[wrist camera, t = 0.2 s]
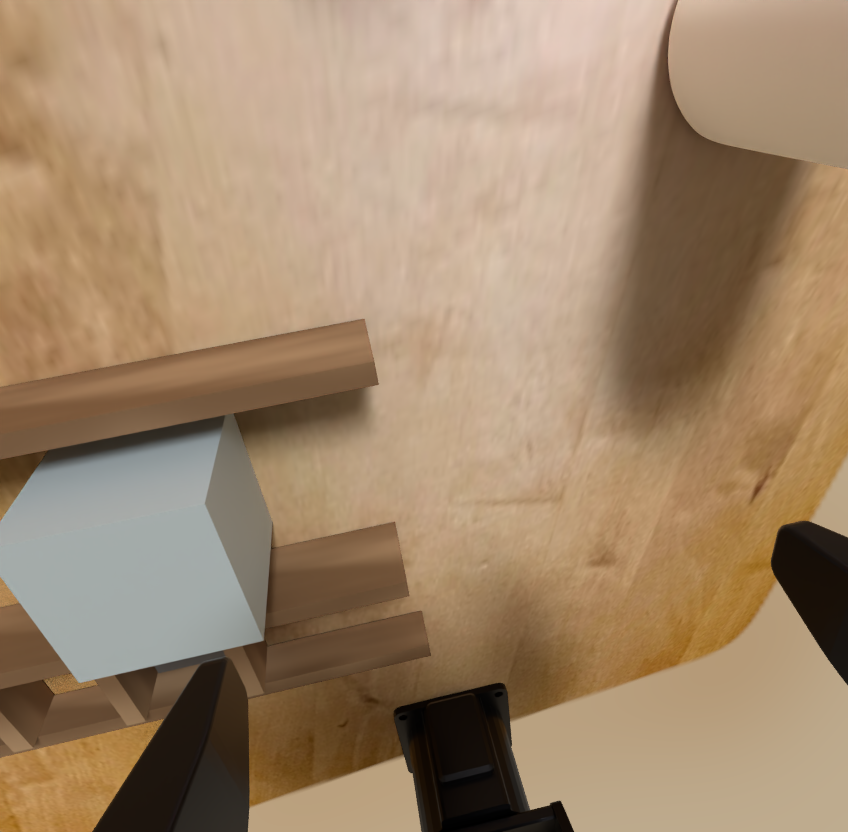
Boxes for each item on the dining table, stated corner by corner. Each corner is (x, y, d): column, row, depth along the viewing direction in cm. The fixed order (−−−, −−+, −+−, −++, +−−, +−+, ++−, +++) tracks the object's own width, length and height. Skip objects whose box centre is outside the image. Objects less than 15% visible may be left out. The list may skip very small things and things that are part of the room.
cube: (272, 521, 24) (264, 640, 19) (127, 552, 24) (78, 683, 19) (229, 399, 21) (204, 503, 16) (60, 432, 21) (-20, 550, 16)
